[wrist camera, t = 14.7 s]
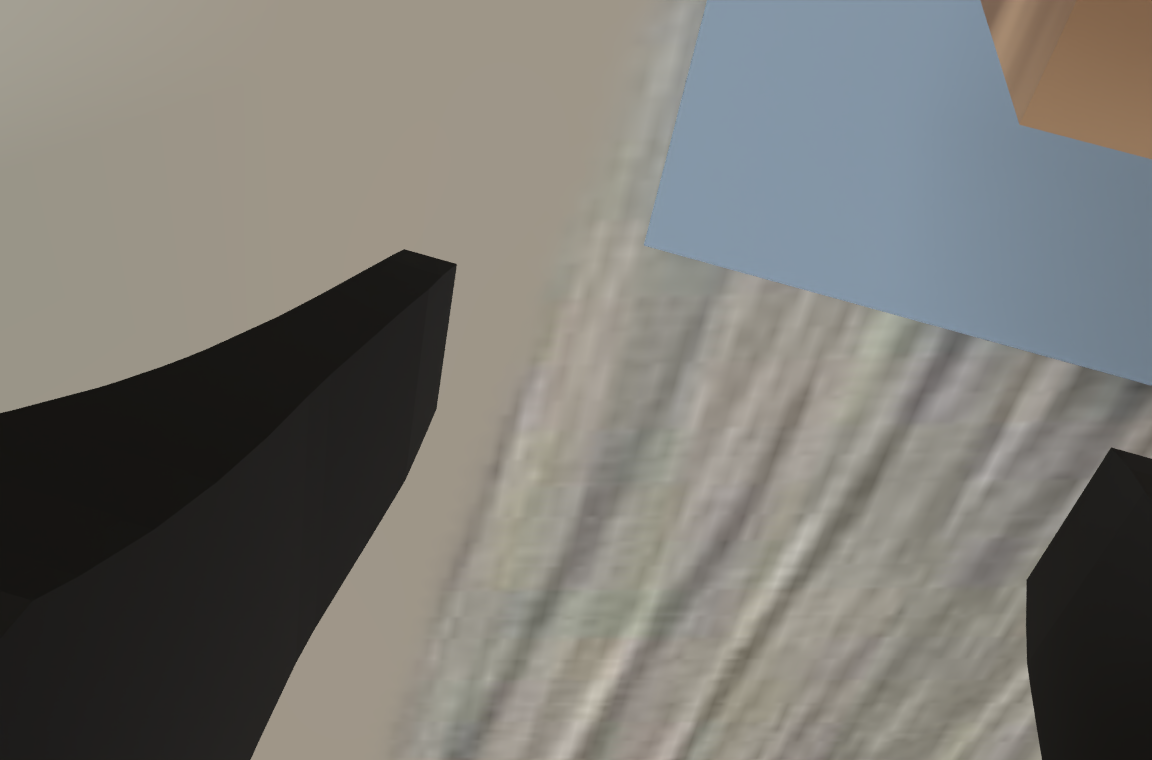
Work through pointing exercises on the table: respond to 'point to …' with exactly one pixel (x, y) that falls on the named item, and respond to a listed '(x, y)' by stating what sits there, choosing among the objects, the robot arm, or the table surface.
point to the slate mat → (905, 180)
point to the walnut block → (1078, 67)
